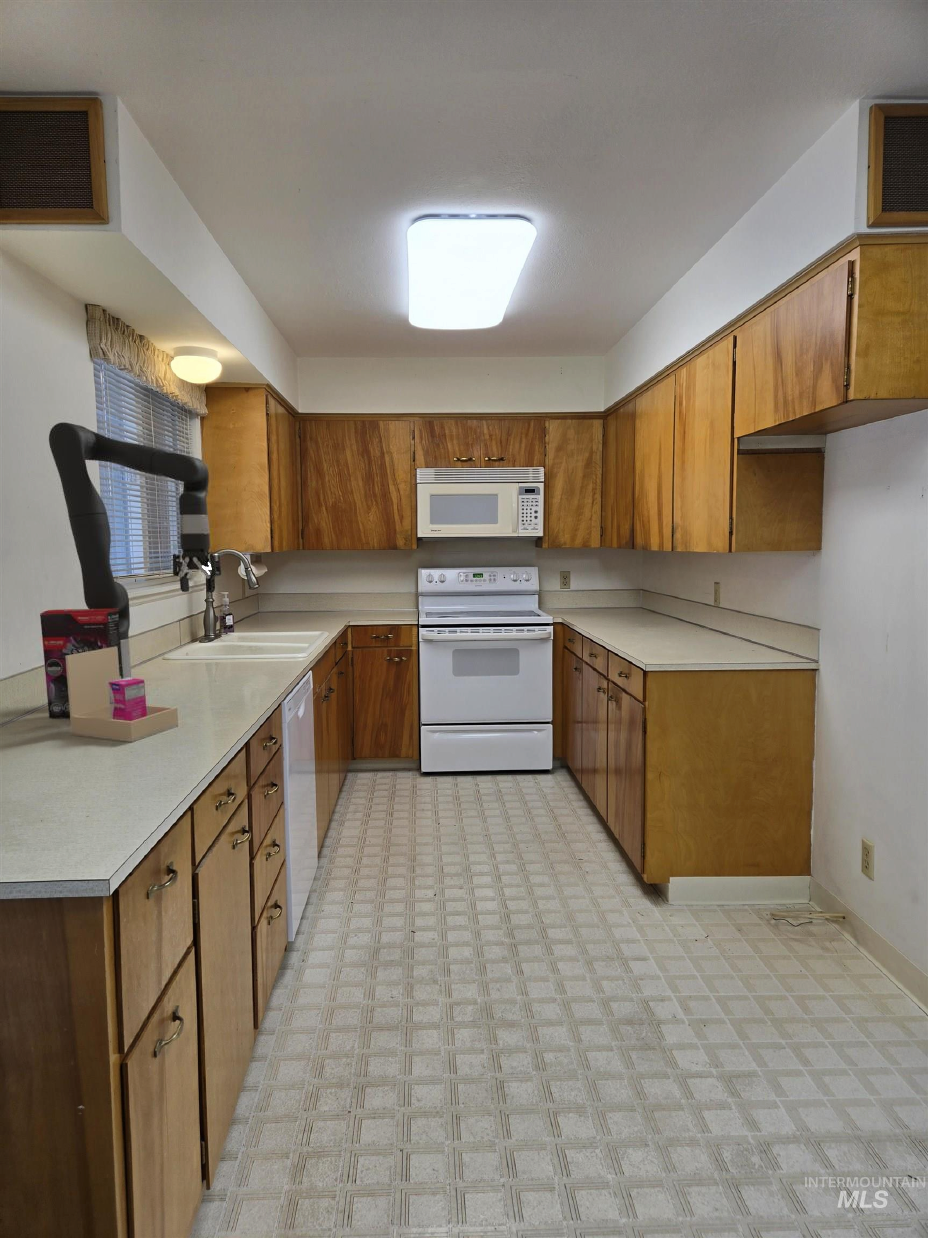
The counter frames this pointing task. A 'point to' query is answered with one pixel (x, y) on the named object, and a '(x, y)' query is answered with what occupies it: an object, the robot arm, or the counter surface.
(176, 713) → the mailer box
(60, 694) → the graphics card box
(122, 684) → the supplement box
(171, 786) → the counter surface
